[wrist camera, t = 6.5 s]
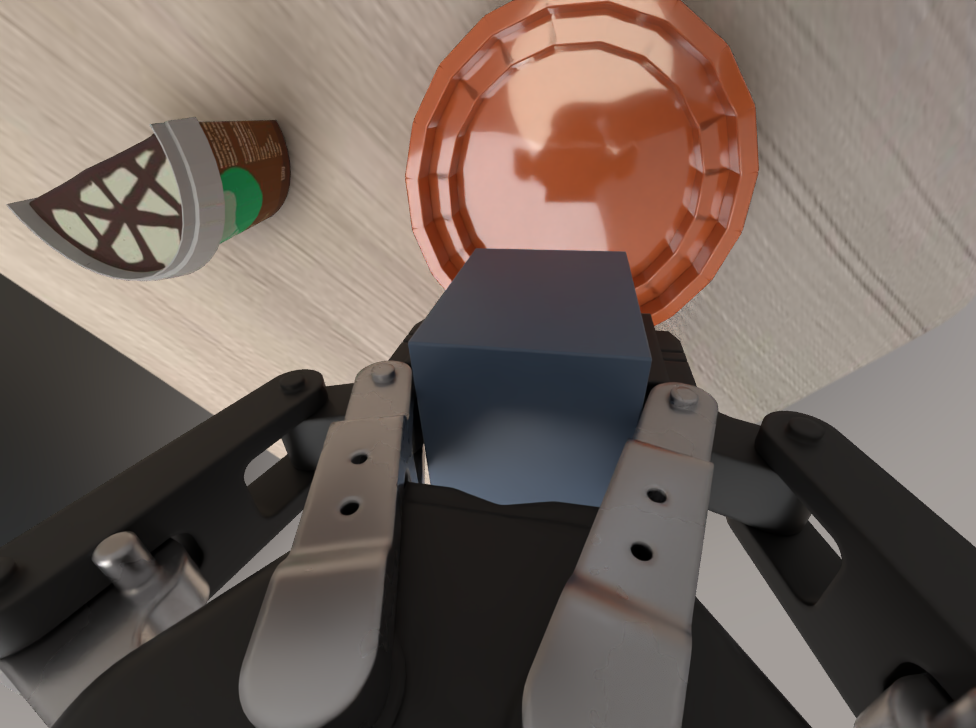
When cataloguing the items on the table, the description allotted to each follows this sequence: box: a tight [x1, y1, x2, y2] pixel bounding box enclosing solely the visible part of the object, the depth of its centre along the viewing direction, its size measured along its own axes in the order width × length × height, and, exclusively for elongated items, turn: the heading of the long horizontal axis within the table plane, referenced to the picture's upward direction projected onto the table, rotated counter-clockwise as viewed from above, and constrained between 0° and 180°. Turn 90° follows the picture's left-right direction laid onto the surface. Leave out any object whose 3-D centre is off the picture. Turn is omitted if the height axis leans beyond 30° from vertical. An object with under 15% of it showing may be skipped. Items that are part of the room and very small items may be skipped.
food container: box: [6, 117, 290, 281], centre depth 25 cm, size 12×6×10 cm, turn 110°
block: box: [408, 248, 652, 507], centre depth 11 cm, size 4×4×6 cm
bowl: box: [405, 0, 759, 326], centre depth 24 cm, size 18×18×4 cm
